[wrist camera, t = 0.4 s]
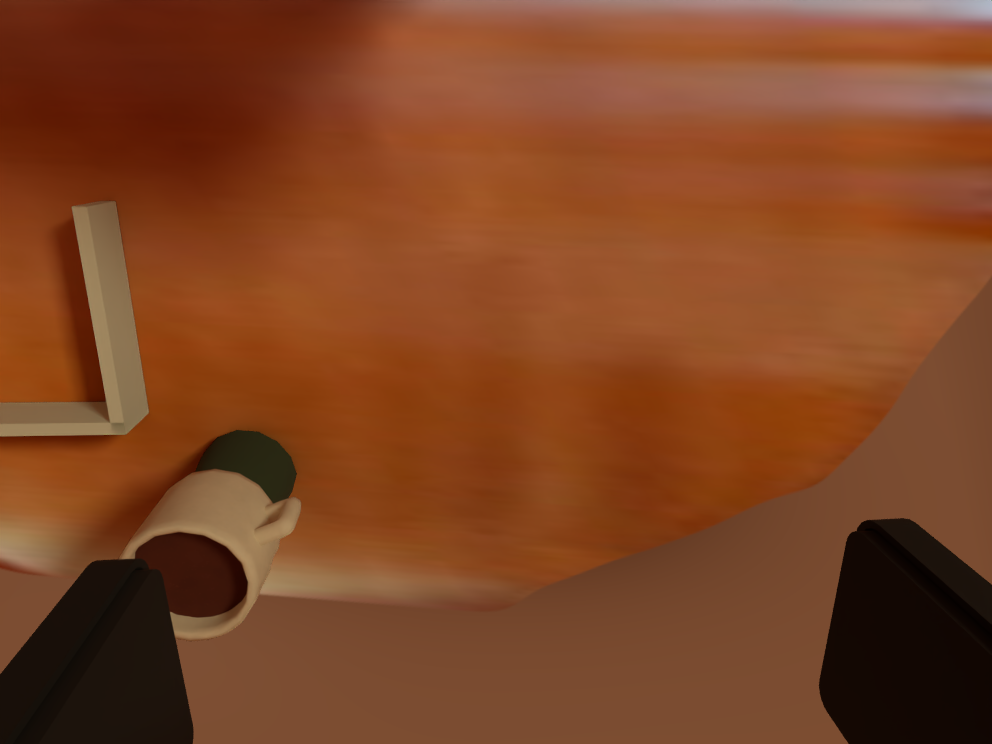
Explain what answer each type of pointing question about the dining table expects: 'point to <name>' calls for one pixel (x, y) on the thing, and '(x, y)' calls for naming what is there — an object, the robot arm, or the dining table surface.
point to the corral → (112, 341)
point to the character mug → (220, 533)
